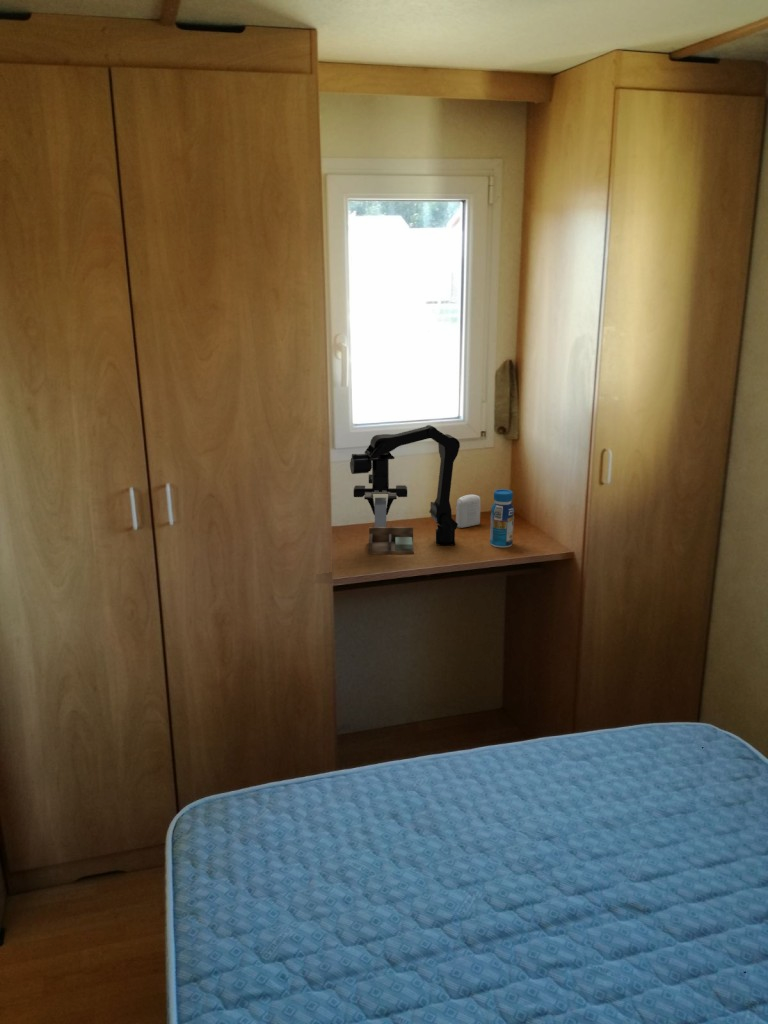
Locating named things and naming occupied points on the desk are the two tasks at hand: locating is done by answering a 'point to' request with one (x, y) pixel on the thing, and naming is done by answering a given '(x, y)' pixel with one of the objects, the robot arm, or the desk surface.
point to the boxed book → (380, 512)
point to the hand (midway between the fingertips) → (380, 514)
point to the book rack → (391, 540)
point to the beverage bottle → (502, 519)
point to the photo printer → (468, 511)
